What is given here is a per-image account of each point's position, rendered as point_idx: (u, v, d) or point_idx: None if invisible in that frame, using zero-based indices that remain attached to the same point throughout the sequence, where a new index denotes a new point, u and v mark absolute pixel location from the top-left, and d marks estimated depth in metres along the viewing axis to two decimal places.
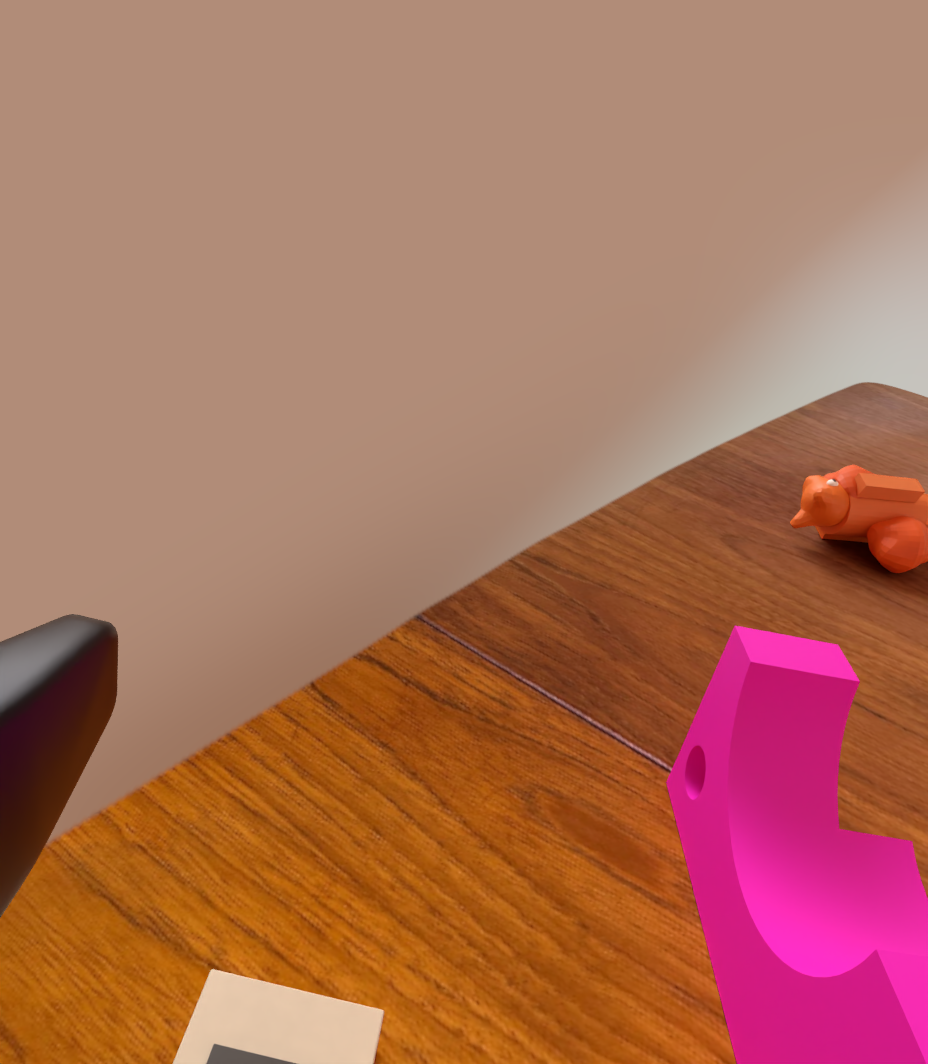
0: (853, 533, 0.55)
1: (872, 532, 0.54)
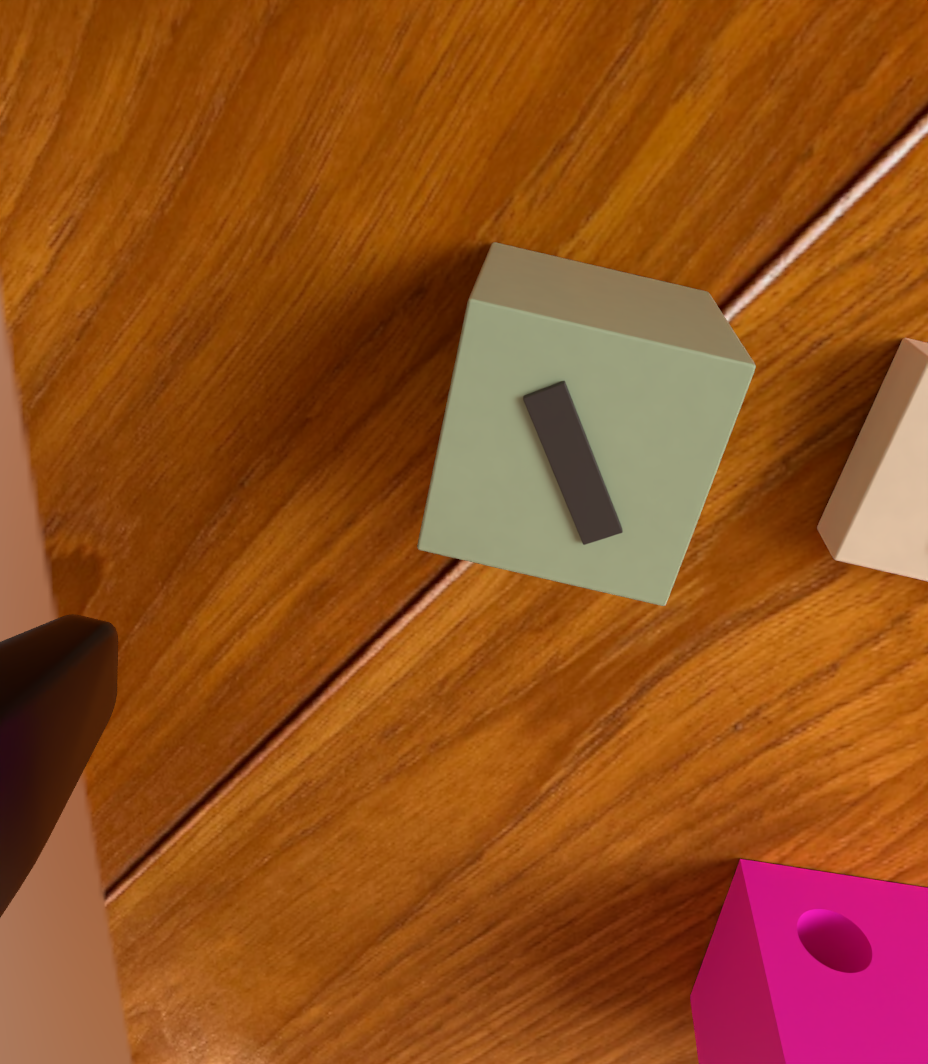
0: None
1: None
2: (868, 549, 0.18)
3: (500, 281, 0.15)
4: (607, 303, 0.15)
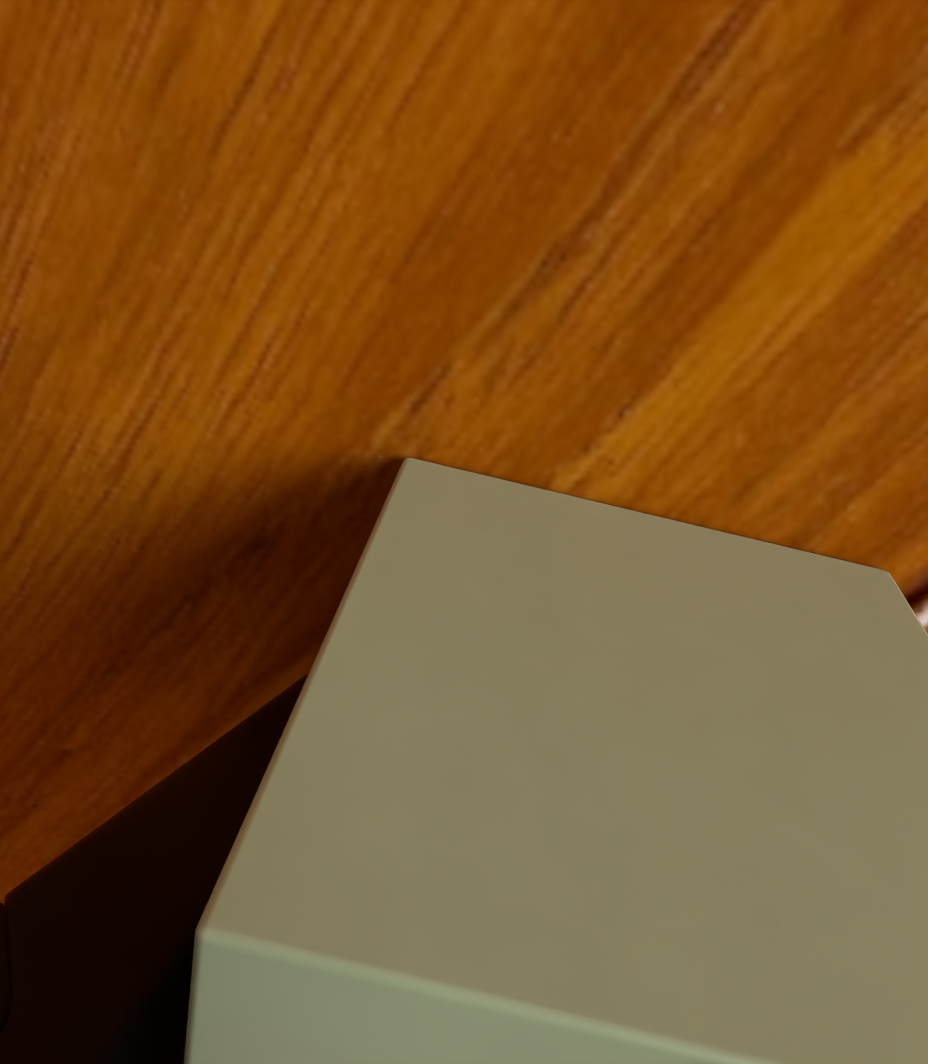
0: None
1: None
2: None
3: (370, 699, 0.05)
4: (685, 751, 0.05)
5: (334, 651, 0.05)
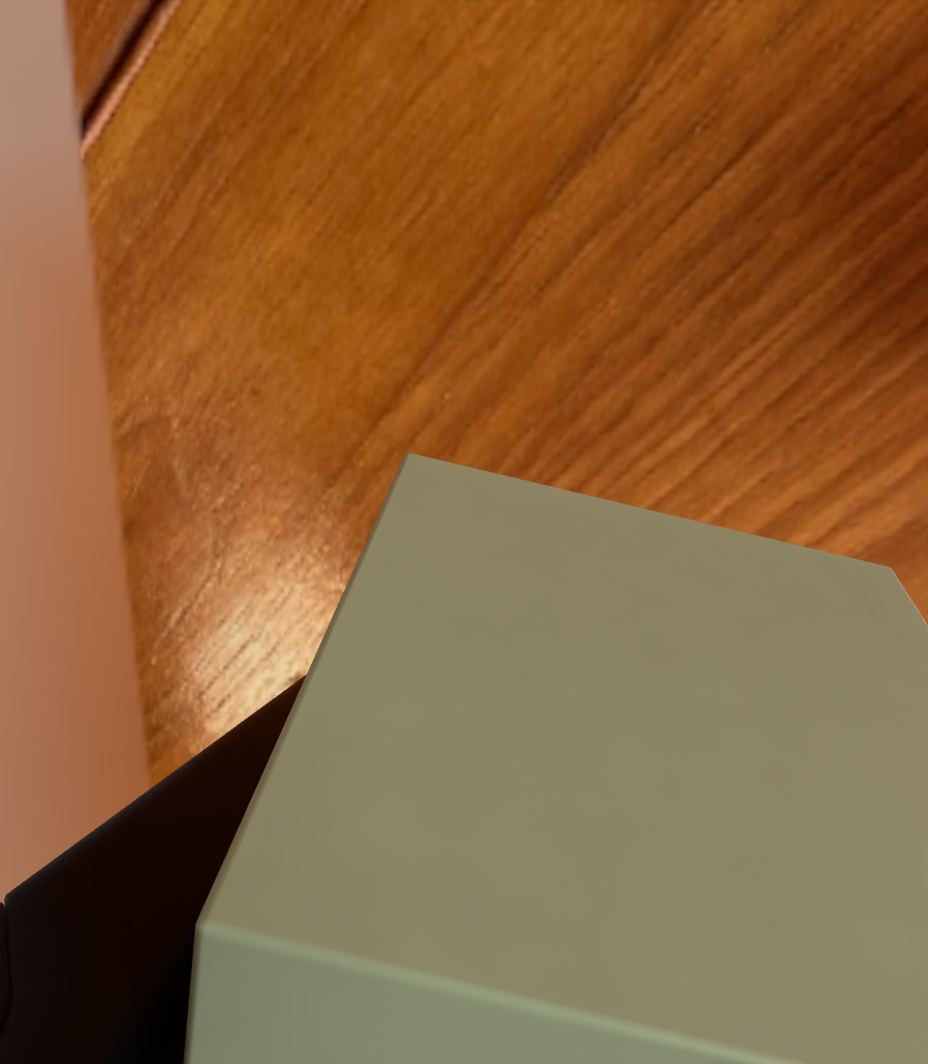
0: None
1: None
2: None
3: (373, 694, 0.05)
4: (688, 746, 0.05)
5: (335, 646, 0.05)
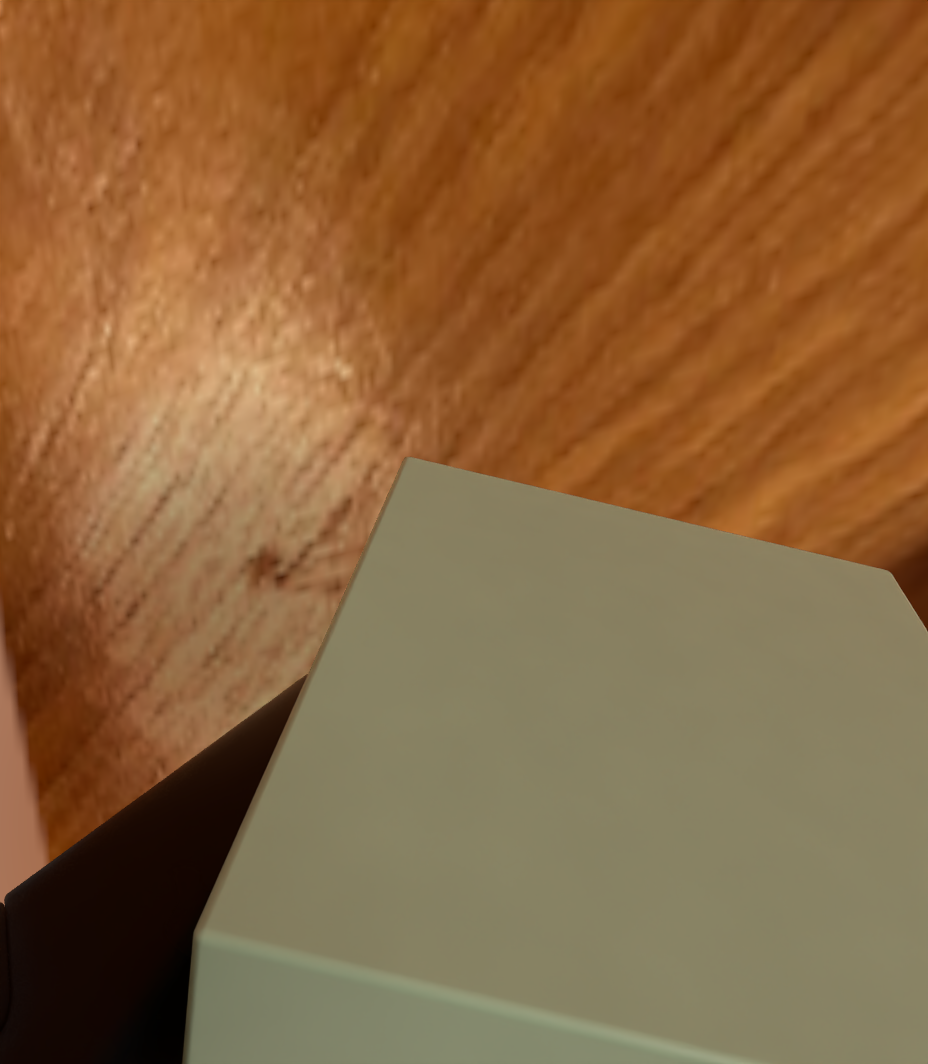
0: None
1: None
2: None
3: (371, 699, 0.05)
4: (687, 752, 0.05)
5: (334, 651, 0.05)
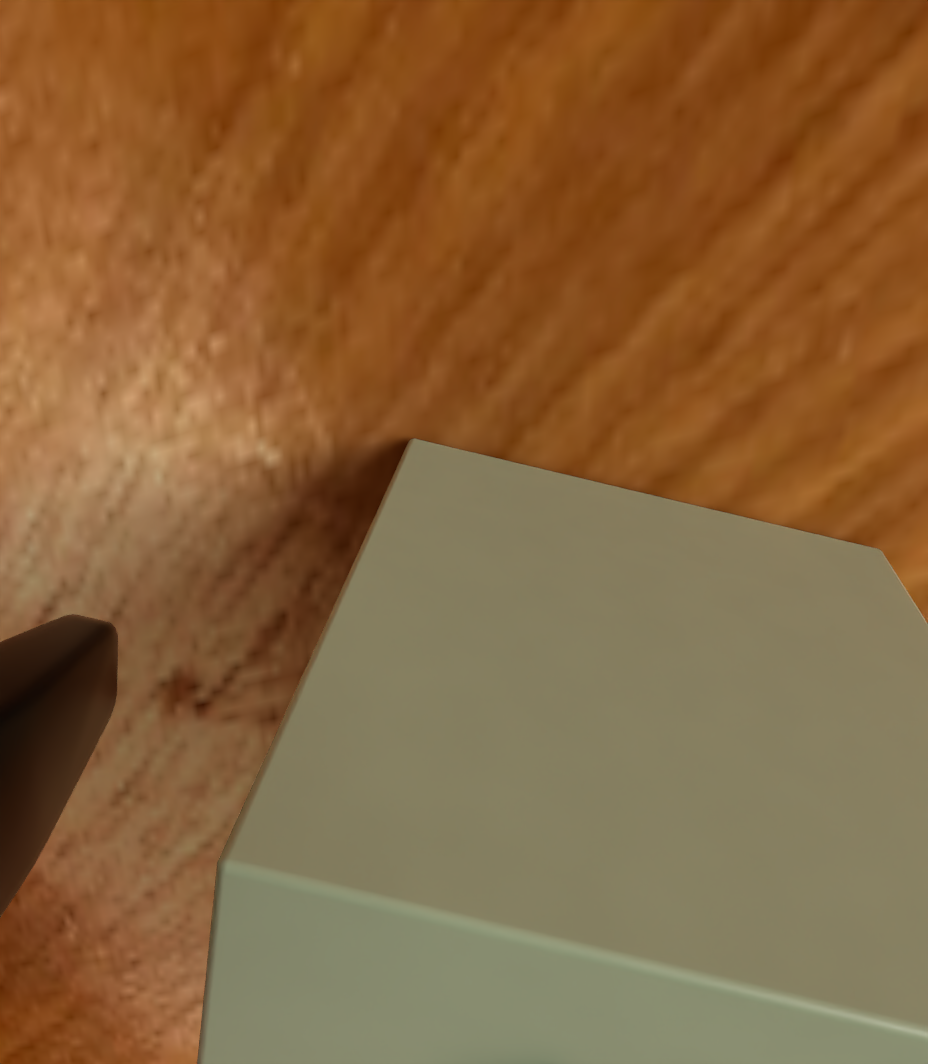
0: None
1: None
2: None
3: (379, 659, 0.05)
4: (681, 711, 0.05)
5: (344, 615, 0.05)
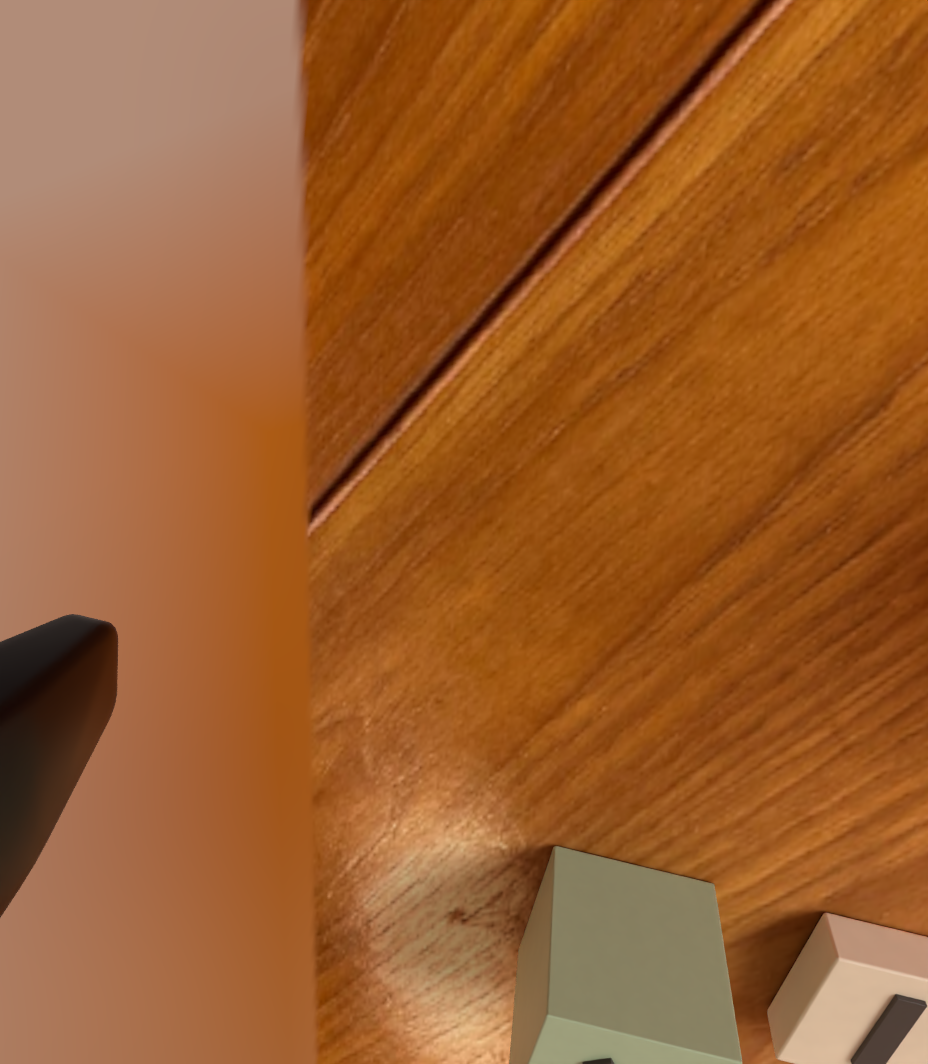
0: None
1: None
2: None
3: (565, 956, 0.21)
4: (640, 966, 0.21)
5: (553, 940, 0.21)
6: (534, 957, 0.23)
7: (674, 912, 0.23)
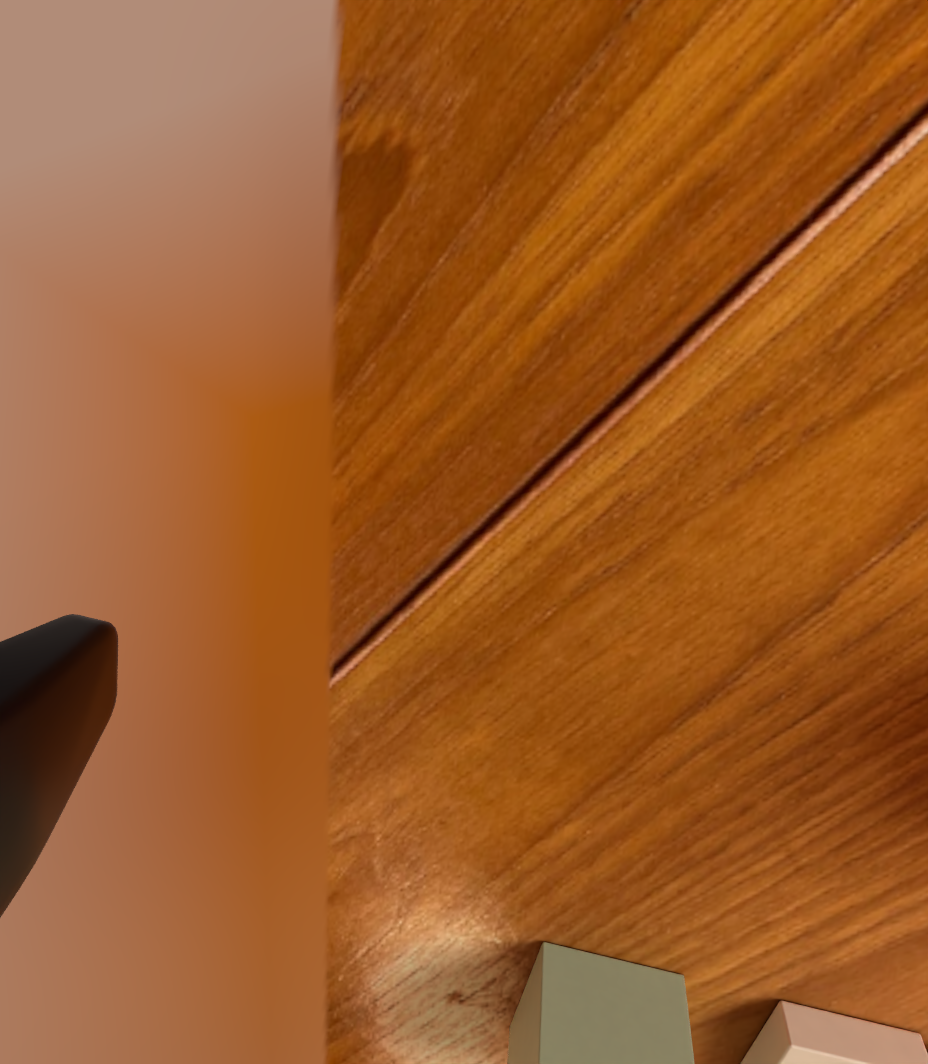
0: None
1: None
2: None
3: (552, 1051, 0.24)
4: (617, 1059, 0.24)
5: (542, 1036, 0.24)
6: (525, 1044, 0.26)
7: (648, 1005, 0.26)
